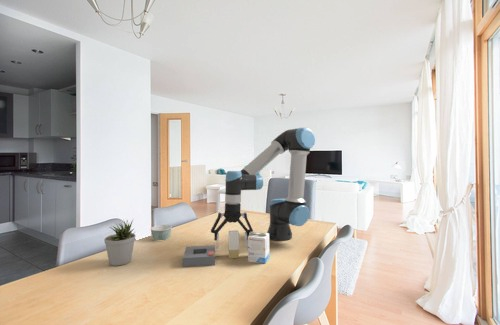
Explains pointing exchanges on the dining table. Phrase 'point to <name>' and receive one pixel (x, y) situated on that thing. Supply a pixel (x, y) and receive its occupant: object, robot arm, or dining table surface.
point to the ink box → (258, 247)
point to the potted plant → (120, 245)
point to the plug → (233, 244)
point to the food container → (161, 232)
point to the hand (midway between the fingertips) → (231, 246)
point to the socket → (199, 256)
